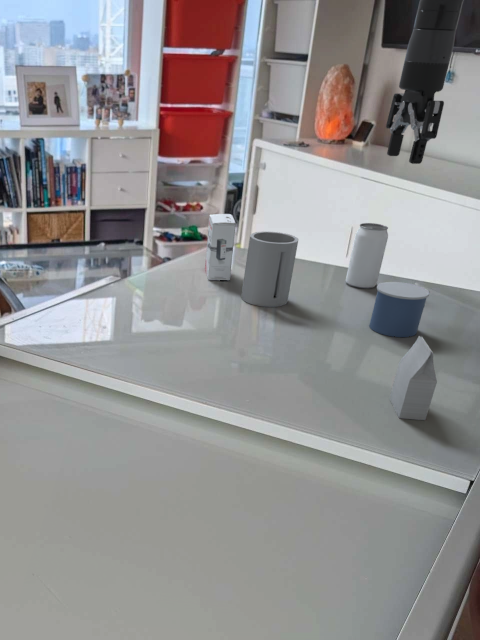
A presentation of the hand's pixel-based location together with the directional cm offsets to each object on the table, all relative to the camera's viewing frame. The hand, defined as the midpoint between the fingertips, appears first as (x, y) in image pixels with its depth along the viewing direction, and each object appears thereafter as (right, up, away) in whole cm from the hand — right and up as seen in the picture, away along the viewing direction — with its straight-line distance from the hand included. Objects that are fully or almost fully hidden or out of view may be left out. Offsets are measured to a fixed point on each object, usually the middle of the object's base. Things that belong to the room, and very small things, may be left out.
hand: (403, 159), depth 143 cm
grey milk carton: (-12, -51, -31) cm, 61 cm away
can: (-1, -18, +20) cm, 27 cm away
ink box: (-32, -15, +22) cm, 41 cm away
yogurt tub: (-3, -33, -3) cm, 33 cm away
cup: (-24, -24, +9) cm, 35 cm away
